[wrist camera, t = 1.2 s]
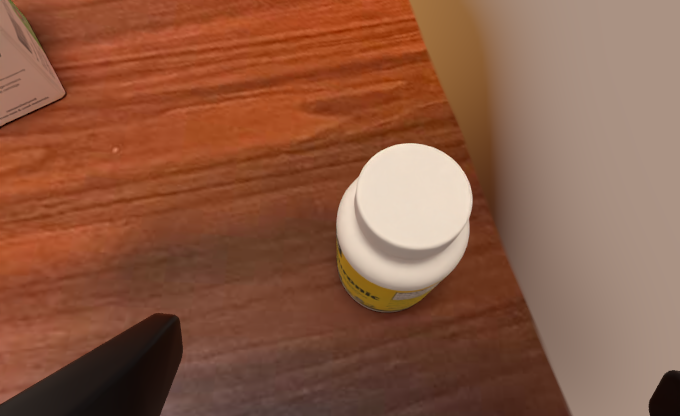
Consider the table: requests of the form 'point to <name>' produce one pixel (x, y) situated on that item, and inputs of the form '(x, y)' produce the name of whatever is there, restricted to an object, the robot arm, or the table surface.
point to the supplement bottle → (402, 226)
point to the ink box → (23, 67)
